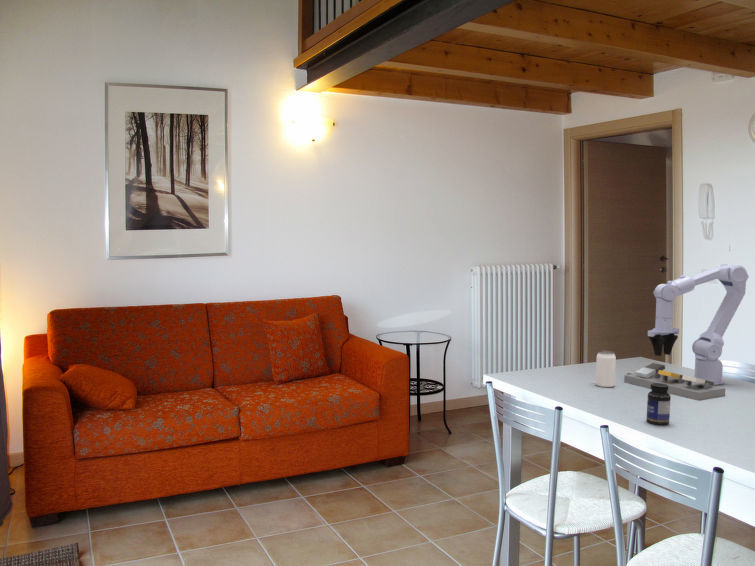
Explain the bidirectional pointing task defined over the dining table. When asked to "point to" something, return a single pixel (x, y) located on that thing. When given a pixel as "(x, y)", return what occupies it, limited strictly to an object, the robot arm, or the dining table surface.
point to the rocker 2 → (670, 374)
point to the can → (605, 369)
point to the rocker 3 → (697, 380)
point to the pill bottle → (658, 404)
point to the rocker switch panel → (678, 386)
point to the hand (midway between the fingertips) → (662, 355)
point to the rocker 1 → (649, 370)
